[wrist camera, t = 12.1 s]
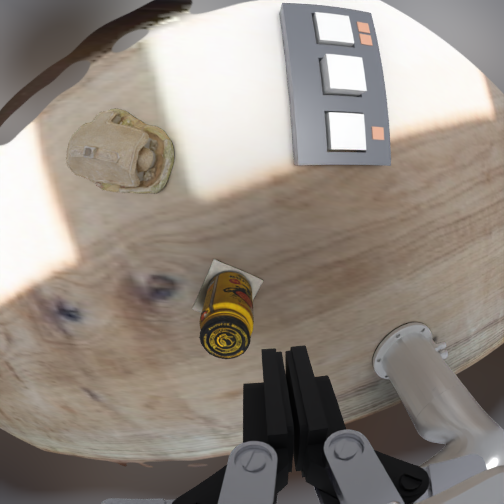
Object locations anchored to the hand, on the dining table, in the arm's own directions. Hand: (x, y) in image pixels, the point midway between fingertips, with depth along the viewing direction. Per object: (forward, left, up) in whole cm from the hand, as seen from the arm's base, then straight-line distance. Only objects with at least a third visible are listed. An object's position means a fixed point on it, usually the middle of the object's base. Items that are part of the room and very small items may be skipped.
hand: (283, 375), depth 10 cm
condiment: (+5, +10, -27) cm, 30 cm away
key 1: (-11, -25, -27) cm, 38 cm away
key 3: (-11, -11, -27) cm, 31 cm away
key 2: (-11, -18, -25) cm, 33 cm away
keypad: (-11, -18, -27) cm, 34 cm away
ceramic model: (+17, -11, -28) cm, 34 cm away
